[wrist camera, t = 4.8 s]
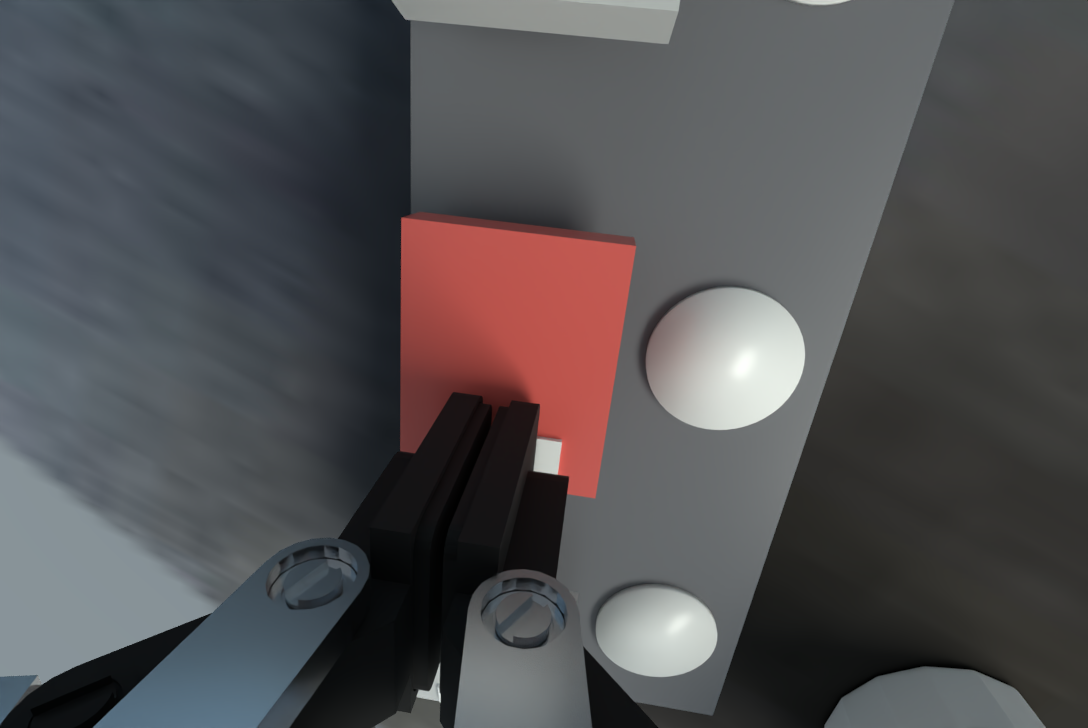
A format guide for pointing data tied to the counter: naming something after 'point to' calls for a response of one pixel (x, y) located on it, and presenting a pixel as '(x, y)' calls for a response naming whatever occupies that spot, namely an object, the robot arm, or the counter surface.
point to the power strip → (687, 272)
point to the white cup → (933, 702)
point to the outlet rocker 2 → (514, 330)
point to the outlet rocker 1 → (555, 16)
